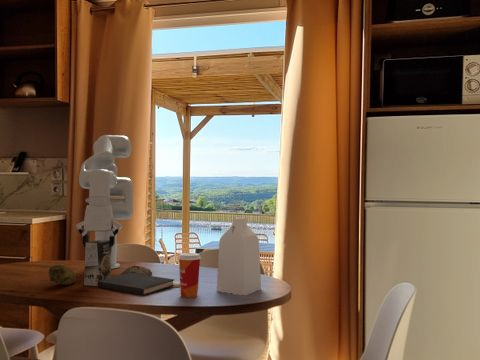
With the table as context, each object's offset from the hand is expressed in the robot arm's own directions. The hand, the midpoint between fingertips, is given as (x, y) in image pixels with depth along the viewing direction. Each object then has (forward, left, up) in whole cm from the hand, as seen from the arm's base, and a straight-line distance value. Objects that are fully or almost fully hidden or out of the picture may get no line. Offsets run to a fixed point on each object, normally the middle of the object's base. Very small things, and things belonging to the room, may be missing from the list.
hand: (98, 246), depth 161 cm
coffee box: (0, 0, -14) cm, 14 cm away
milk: (+9, +54, -14) cm, 56 cm away
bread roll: (-13, +11, -15) cm, 23 cm away
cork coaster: (+2, +30, -14) cm, 33 cm away
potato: (+3, -12, -14) cm, 19 cm away
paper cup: (+18, +37, -14) cm, 43 cm away
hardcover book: (+6, +16, -14) cm, 22 cm away
